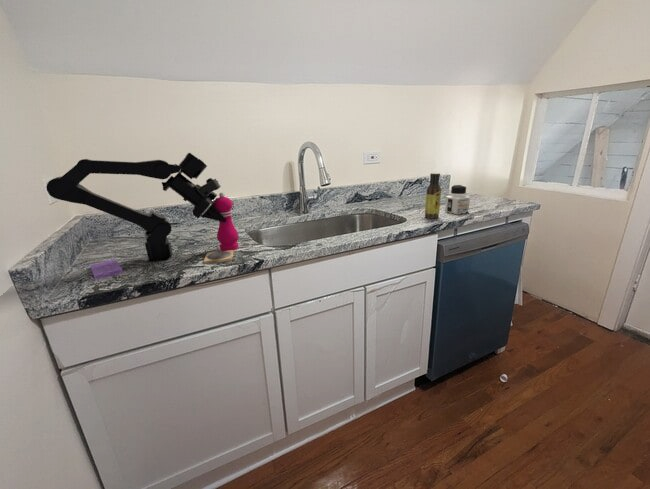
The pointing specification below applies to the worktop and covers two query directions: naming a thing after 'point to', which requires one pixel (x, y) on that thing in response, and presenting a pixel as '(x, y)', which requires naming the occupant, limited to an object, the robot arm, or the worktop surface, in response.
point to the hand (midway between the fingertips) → (226, 219)
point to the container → (457, 200)
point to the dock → (218, 256)
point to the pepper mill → (226, 225)
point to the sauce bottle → (433, 197)
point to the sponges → (106, 268)
